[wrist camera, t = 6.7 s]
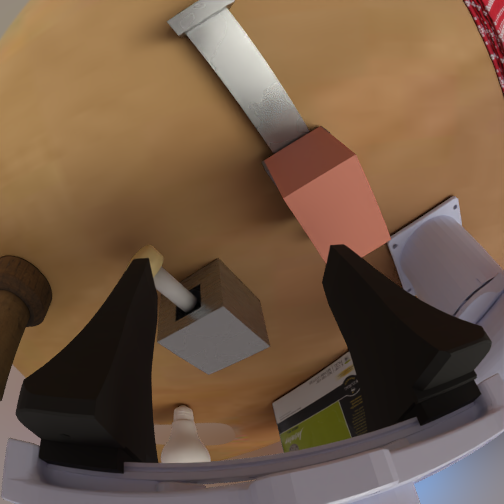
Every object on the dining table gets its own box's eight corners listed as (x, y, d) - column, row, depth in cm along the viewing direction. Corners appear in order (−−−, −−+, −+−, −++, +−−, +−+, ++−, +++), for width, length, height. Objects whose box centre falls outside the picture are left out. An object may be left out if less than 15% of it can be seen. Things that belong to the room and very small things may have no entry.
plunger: (203, 283, 23) (204, 309, 21) (177, 299, 24) (176, 324, 22) (155, 238, 20) (150, 263, 18) (129, 257, 21) (122, 282, 19)
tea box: (315, 409, 45) (338, 492, 33) (270, 400, 40) (290, 498, 29) (393, 359, 39) (432, 449, 27) (355, 342, 34) (400, 455, 23)
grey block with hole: (259, 300, 27) (270, 346, 23) (205, 329, 29) (208, 374, 25) (218, 258, 24) (223, 306, 20) (161, 294, 25) (157, 342, 21)
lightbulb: (155, 410, 38) (156, 482, 30) (167, 392, 35) (169, 474, 27) (196, 416, 41) (201, 486, 32) (212, 400, 38) (220, 477, 29)
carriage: (353, 188, 22) (394, 237, 17) (300, 220, 23) (328, 276, 18) (317, 119, 18) (360, 151, 13) (257, 156, 19) (278, 201, 14)
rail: (355, 212, 23) (371, 234, 21) (320, 234, 24) (333, 258, 22) (220, -4, 13) (223, -14, 11) (172, 26, 14) (166, 21, 11)
